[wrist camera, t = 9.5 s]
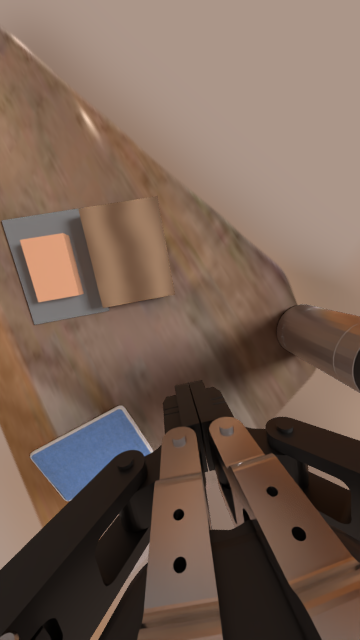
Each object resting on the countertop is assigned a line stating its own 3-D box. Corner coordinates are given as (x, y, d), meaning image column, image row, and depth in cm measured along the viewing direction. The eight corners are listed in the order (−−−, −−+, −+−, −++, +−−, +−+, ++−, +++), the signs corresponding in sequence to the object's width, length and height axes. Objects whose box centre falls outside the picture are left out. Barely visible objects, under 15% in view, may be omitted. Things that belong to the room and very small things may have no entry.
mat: (84, 208, 36) (83, 207, 36) (109, 310, 40) (108, 310, 39) (3, 221, 36) (1, 220, 35) (35, 324, 39) (34, 324, 39)
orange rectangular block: (19, 239, 34) (28, 241, 36) (38, 302, 36) (45, 300, 38) (62, 233, 34) (69, 235, 37) (79, 295, 36) (83, 293, 38)
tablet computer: (68, 498, 47) (66, 504, 45) (29, 451, 44) (25, 456, 43) (155, 451, 47) (155, 456, 45) (122, 401, 44) (121, 405, 43)
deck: (156, 204, 37) (157, 196, 33) (172, 292, 40) (175, 294, 36) (86, 215, 37) (78, 208, 33) (107, 304, 40) (102, 308, 36)
